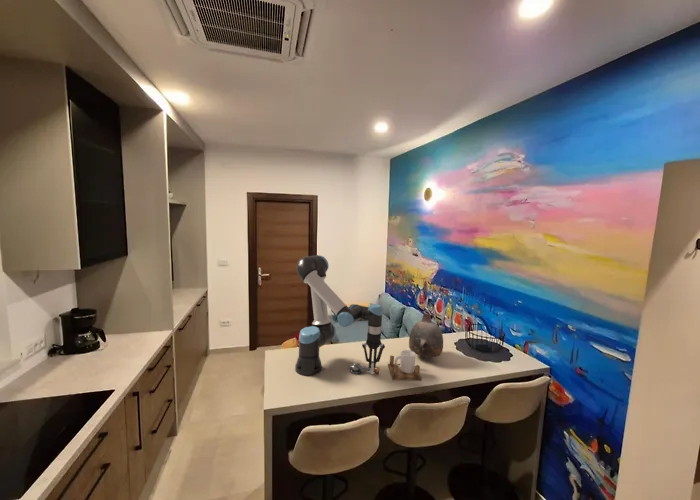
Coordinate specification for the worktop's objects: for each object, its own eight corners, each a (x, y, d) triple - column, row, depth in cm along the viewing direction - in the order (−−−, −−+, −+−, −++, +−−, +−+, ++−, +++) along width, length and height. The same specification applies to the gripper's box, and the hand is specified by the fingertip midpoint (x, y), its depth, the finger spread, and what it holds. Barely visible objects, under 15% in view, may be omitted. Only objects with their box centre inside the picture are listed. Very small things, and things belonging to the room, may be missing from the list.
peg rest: (392, 379, 168) (393, 367, 167) (387, 365, 184) (388, 354, 183) (421, 380, 169) (422, 368, 168) (413, 366, 185) (414, 355, 184)
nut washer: (349, 374, 172) (349, 372, 172) (349, 368, 179) (349, 366, 179) (362, 374, 172) (362, 372, 172) (360, 368, 179) (360, 366, 179)
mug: (396, 374, 171) (397, 356, 170) (391, 367, 179) (392, 350, 178) (416, 373, 173) (417, 356, 172) (411, 366, 181) (412, 349, 180)
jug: (447, 366, 186) (451, 318, 184) (412, 365, 186) (415, 317, 183) (435, 349, 211) (439, 307, 208) (404, 348, 211) (407, 306, 208)
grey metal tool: (378, 375, 169) (378, 369, 169) (349, 371, 173) (349, 365, 173) (380, 370, 175) (380, 364, 175) (351, 366, 179) (351, 360, 179)
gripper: (363, 334, 165) (360, 376, 167) (387, 335, 165) (384, 376, 168) (361, 329, 172) (359, 369, 174) (384, 330, 173) (382, 370, 175)
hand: (371, 373), depth 171 cm, fingers closed
